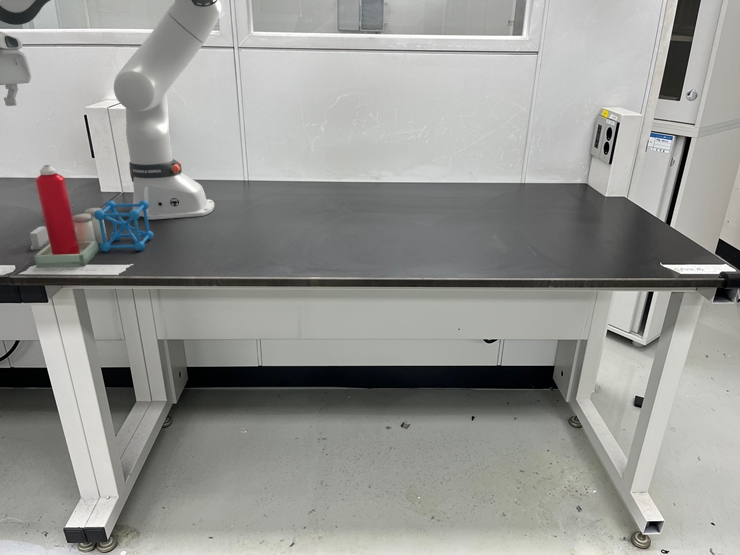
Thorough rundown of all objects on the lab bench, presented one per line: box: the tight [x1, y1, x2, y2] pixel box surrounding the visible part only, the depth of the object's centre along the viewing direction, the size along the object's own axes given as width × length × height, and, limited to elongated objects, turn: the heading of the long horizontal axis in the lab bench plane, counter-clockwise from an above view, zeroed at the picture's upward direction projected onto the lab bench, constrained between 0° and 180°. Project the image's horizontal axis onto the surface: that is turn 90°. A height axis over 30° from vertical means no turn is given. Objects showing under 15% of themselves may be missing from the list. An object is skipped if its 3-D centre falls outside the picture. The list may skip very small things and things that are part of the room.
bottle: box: [35, 164, 80, 255], centre depth 120 cm, size 5×6×20 cm
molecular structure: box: [94, 200, 154, 252], centre depth 131 cm, size 10×10×10 cm
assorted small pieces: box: [29, 207, 108, 268], centre depth 128 cm, size 16×20×8 cm
